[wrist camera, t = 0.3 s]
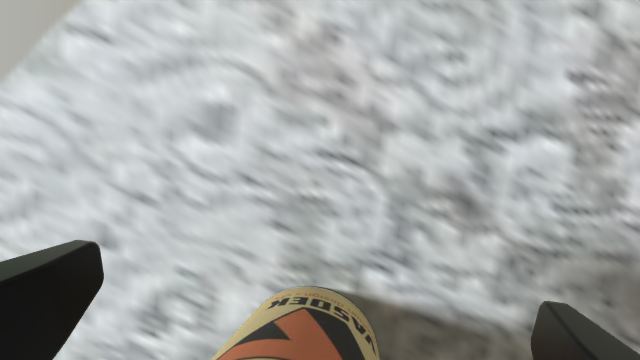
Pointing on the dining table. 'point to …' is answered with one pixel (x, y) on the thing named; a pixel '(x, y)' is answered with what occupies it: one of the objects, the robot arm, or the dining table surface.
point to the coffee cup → (303, 329)
